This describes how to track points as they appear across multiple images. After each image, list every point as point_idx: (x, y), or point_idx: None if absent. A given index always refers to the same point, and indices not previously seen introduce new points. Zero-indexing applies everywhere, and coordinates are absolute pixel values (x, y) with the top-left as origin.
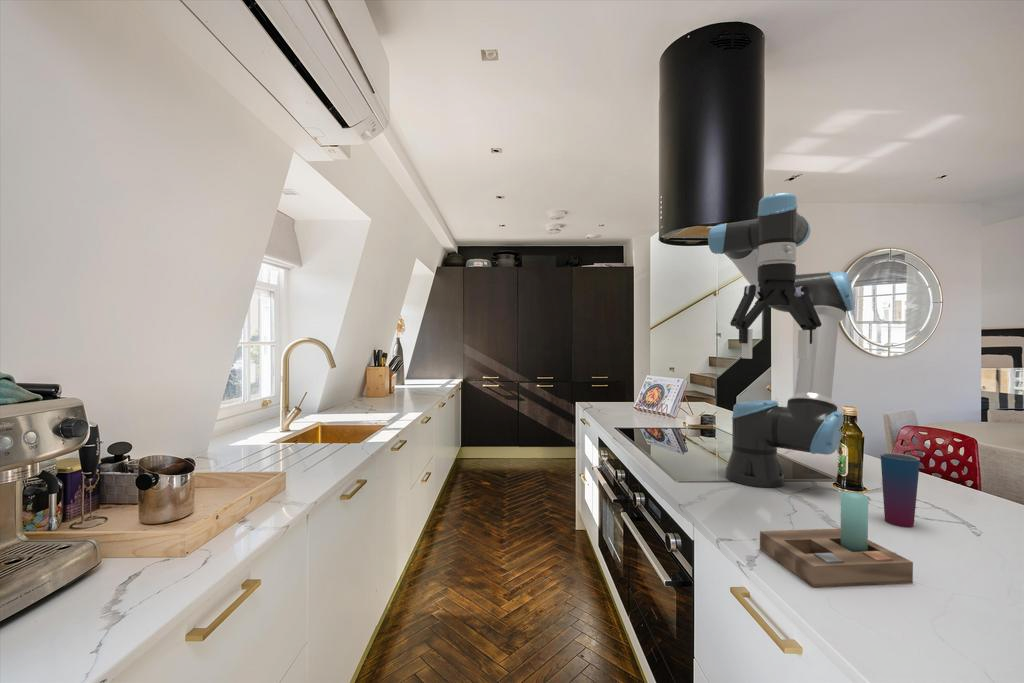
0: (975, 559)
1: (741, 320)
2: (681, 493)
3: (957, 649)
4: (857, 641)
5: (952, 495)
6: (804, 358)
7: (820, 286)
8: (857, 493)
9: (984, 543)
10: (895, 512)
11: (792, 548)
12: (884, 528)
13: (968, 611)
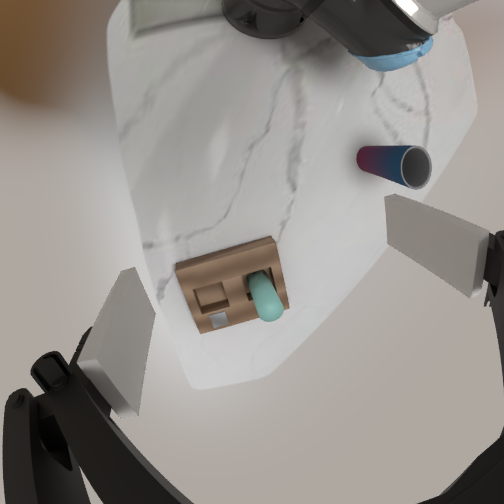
0: (369, 241)
1: (69, 459)
2: (124, 88)
3: (253, 366)
4: (201, 372)
5: (455, 81)
6: (387, 235)
7: None
8: (279, 302)
9: None
10: (366, 169)
11: (194, 306)
12: (342, 177)
13: (293, 328)
